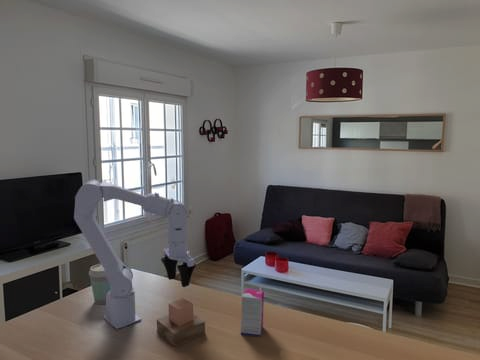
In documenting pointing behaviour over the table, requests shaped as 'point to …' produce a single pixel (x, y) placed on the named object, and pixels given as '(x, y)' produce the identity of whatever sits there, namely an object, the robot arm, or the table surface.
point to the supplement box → (252, 312)
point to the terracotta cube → (180, 311)
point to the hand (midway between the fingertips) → (178, 282)
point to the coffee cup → (99, 283)
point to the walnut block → (180, 329)
